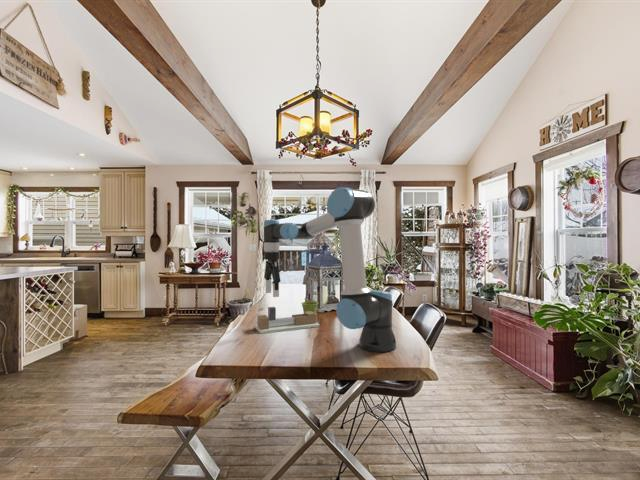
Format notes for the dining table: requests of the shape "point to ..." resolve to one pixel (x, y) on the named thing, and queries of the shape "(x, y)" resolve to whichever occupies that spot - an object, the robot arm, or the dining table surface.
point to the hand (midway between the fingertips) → (272, 294)
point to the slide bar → (278, 321)
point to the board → (300, 322)
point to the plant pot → (309, 306)
